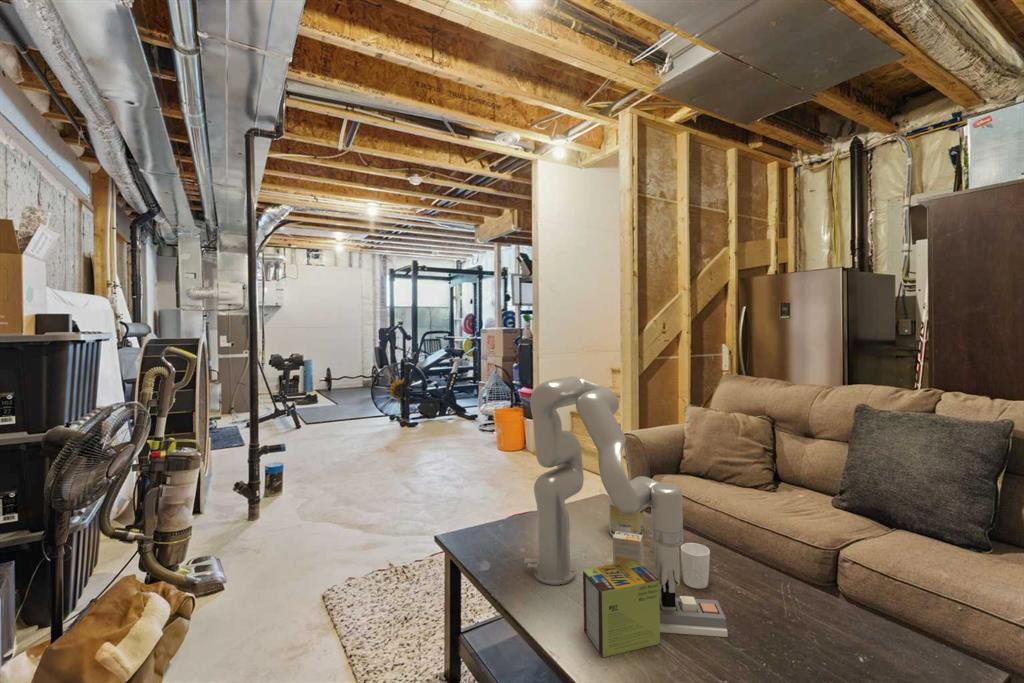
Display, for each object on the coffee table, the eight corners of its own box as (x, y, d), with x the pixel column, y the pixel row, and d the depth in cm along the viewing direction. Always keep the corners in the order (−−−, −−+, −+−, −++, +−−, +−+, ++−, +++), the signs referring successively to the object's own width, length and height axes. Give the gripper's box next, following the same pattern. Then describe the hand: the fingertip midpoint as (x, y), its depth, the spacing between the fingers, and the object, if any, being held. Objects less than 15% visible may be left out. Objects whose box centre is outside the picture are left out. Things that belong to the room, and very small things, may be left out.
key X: (682, 612, 118) (682, 603, 118) (679, 604, 121) (679, 595, 121) (696, 613, 118) (696, 604, 117) (693, 605, 121) (693, 596, 121)
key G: (703, 620, 117) (703, 611, 117) (700, 612, 121) (700, 603, 121) (718, 621, 117) (717, 612, 117) (714, 613, 120) (714, 603, 120)
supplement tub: (648, 542, 163) (647, 493, 163) (613, 542, 164) (612, 494, 163) (639, 527, 176) (638, 482, 175) (606, 527, 176) (605, 482, 175)
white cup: (712, 591, 133) (712, 556, 132) (683, 588, 134) (683, 554, 134) (707, 576, 141) (706, 543, 140) (679, 574, 142) (678, 541, 142)
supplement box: (644, 577, 141) (643, 534, 140) (641, 585, 136) (640, 541, 136) (616, 572, 144) (615, 530, 144) (613, 580, 140) (612, 536, 139)
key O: (662, 617, 119) (661, 608, 119) (659, 609, 122) (659, 600, 122) (676, 618, 118) (675, 609, 118) (673, 610, 122) (673, 601, 122)
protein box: (661, 644, 112) (660, 579, 111) (602, 658, 107) (601, 591, 107) (637, 618, 122) (636, 559, 121) (582, 630, 117) (581, 569, 117)
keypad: (658, 632, 116) (658, 616, 116) (652, 607, 126) (652, 593, 126) (727, 637, 113) (727, 621, 113) (716, 612, 123) (715, 597, 123)
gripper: (647, 521, 128) (649, 588, 128) (656, 547, 113) (657, 622, 113) (676, 522, 126) (677, 589, 127) (689, 548, 112) (690, 624, 112)
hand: (668, 604), depth 120 cm, fingers closed
